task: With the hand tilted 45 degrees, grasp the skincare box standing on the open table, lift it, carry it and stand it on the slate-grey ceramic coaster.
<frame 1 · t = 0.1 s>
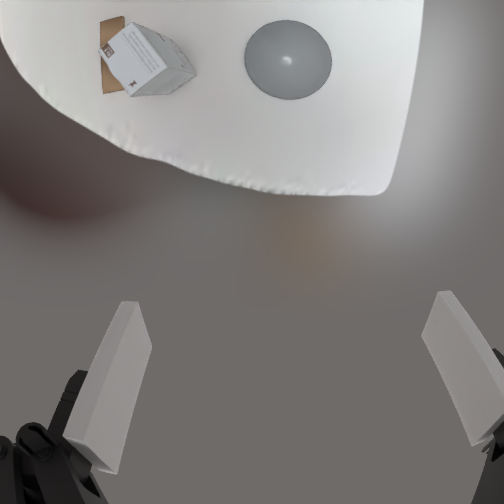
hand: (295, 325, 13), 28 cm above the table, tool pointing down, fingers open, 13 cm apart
walnut board: (114, 54, 29), on the table
skincare box: (168, 66, 31), on the table
coaster: (288, 59, 31), on the table
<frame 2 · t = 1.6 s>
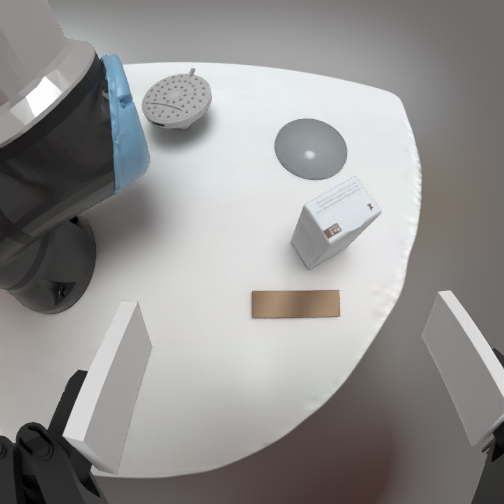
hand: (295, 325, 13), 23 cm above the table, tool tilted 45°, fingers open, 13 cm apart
showerhead: (185, 123, 43), on the table
walnut board: (295, 304, 35), on the table
skincare box: (318, 246, 37), on the table
coaster: (311, 148, 41), on the table
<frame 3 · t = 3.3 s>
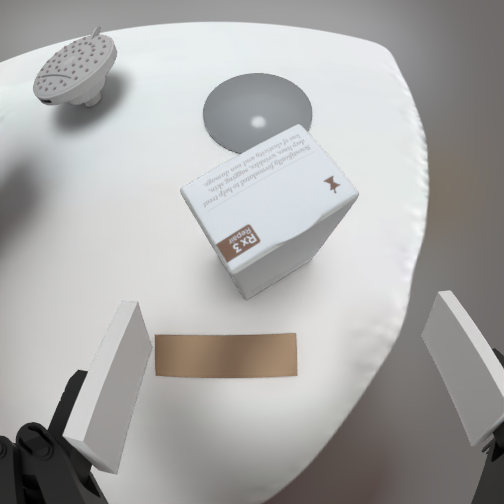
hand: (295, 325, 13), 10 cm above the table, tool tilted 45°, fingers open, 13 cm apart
showerhead: (95, 99, 28), on the table
walnut board: (225, 356, 21), on the table
skincare box: (264, 260, 23), on the table
coaster: (257, 111, 27), on the table
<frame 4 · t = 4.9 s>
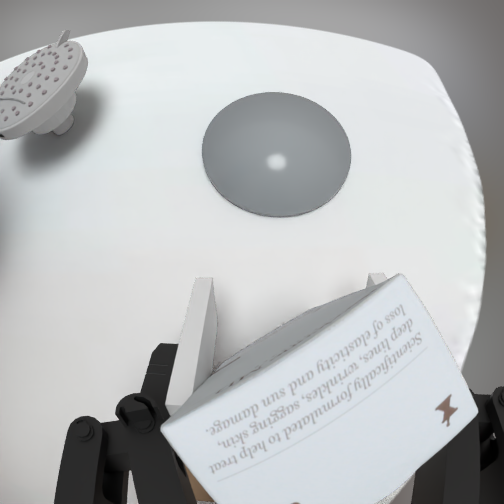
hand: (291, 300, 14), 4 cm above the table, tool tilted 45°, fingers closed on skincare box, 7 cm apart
showerhead: (66, 123, 22), on the table
walnut board: (235, 477, 15), on the table
skincare box: (286, 368, 17), on the table, touching gripper
coaster: (277, 149, 20), on the table
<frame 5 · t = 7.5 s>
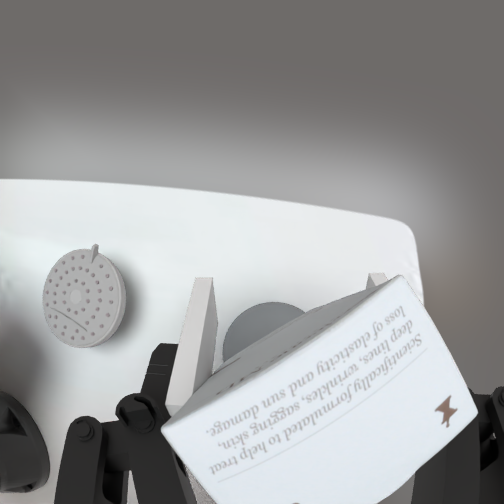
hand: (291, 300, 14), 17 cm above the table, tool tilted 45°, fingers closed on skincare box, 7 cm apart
showerhead: (108, 303, 32), on the table
skincare box: (286, 369, 17), point 14 cm above the table, touching gripper
coaster: (273, 351, 30), on the table
when the fingers open (5 cm above the table, at t = 10.2 s): skincare box drops 1 cm, resting on coaster.
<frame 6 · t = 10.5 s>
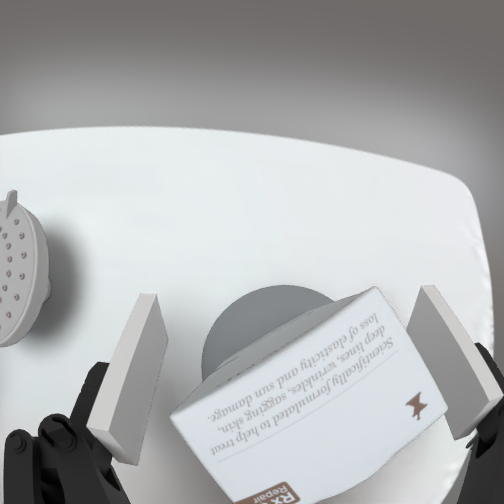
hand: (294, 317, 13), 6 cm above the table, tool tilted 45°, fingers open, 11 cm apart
showerhead: (44, 285, 20), on the table
skincare box: (282, 367, 18), resting on coaster
coaster: (283, 365, 18), on the table
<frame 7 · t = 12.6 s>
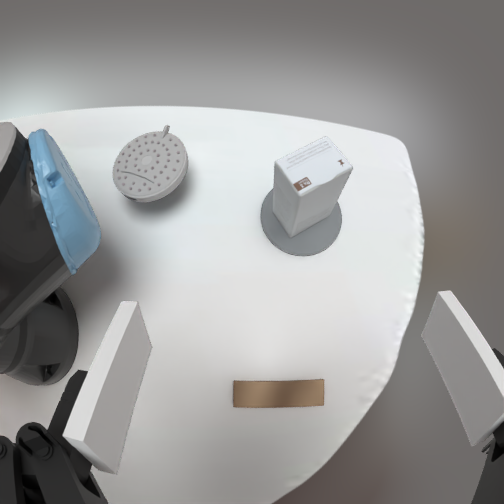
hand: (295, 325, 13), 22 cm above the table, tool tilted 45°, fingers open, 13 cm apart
showerhead: (164, 185, 40), on the table
walnut board: (278, 393, 32), on the table
skincare box: (300, 216, 38), resting on coaster
coaster: (301, 216, 38), on the table
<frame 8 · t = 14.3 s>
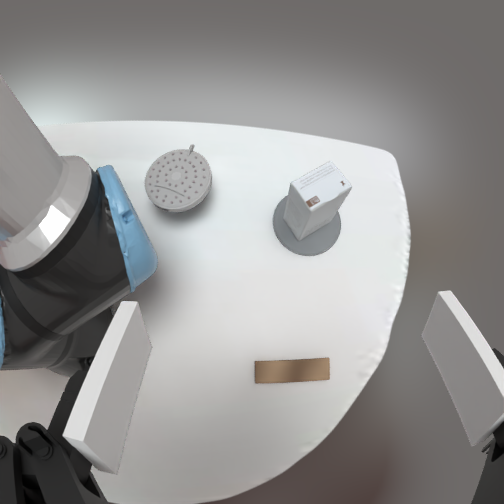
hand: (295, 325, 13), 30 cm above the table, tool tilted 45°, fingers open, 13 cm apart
showerhead: (187, 195, 47), on the table
walnut board: (292, 370, 40), on the table
skincare box: (306, 222, 45), resting on coaster
coaster: (307, 222, 45), on the table
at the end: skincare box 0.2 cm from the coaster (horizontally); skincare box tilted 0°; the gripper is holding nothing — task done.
